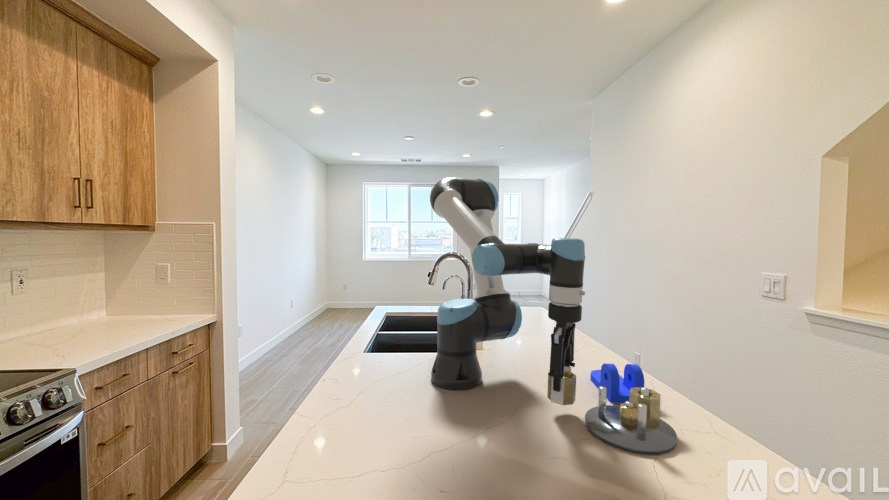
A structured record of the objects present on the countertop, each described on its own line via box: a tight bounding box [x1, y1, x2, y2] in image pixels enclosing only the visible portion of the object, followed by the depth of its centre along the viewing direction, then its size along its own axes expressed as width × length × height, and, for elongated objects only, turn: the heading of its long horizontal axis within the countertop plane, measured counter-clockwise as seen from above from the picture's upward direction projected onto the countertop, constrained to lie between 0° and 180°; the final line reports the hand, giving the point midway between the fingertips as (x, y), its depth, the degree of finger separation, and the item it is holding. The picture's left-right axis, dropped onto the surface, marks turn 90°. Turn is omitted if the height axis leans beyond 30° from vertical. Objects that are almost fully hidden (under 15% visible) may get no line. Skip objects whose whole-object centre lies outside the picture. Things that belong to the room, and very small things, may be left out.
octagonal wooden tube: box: [546, 370, 577, 406], centre depth 86 cm, size 6×6×6 cm
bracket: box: [590, 363, 645, 404], centre depth 100 cm, size 18×8×9 cm, turn 177°
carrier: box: [584, 386, 678, 456], centre depth 79 cm, size 18×18×8 cm
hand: (560, 397), depth 86 cm, fingers closed on octagonal wooden tube, 6 cm apart
